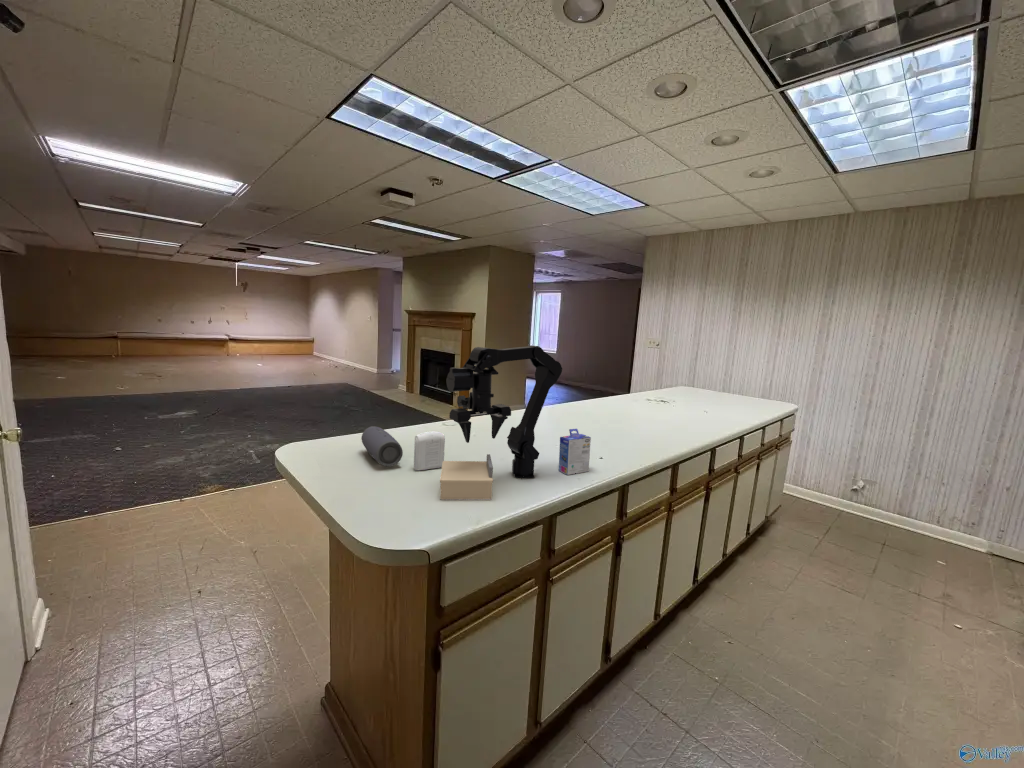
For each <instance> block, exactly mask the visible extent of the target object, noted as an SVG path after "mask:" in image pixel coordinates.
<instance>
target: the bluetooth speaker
mask: <svg viewBox="0 0 1024 768" xmlns="http://www.w3.org/2000/svg"><path fill="white" fill-rule="evenodd" d="M360 440H361V442H362V445H363V447H364V448H365V449H366V451H367V453H368V454H369V455H370V456H371V457H372V458H373V459H374V460H375V461H376V462H377V463H378V462H379V463H380V465H382V466H383V467H393V466H395V465H397V464H398V463H400V461H401V460H402V457H403V455H404V450H403V448H402V446H401V444H400V443H399V442H398V441H397V440H396V439H395V437H394V436H393V435H392V434H390V433H389V432H387V431H386V430H384V429H383V428H381V427H379V426H375V425H374V426H373V425H371V426H369V427H367V428H365V430H363V431H362V434H361V439H360ZM379 463H378V464H379Z"/></svg>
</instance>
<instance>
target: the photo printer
mask: <svg viewBox="0 0 1024 768" xmlns="http://www.w3.org/2000/svg"><path fill="white" fill-rule="evenodd" d="M445 444H446V438H445V434H444V433H443V432H440V431H433V430H431V431H424V432H420V433H418V434H416V435H415V436H414V448H413V449H414V450H413V453H414V455H413V469H414V471H424V470H426V471H427V470H430V469H431V470H432V469H438V468H439V469H440V468H441V469H442V463H443V461H445V448H446V447H445V446H446V445H445Z"/></svg>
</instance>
